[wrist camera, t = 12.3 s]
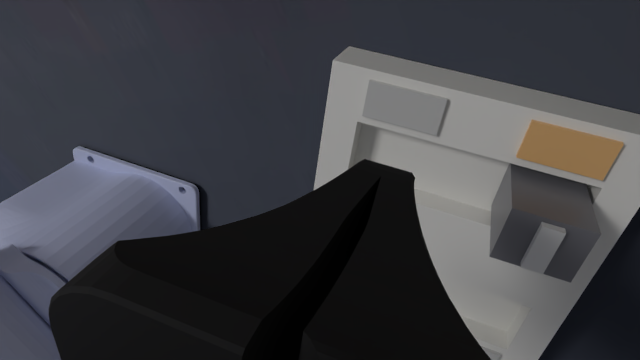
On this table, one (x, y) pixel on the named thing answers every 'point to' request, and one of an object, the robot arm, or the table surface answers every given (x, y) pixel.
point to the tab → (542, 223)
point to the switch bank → (482, 178)
